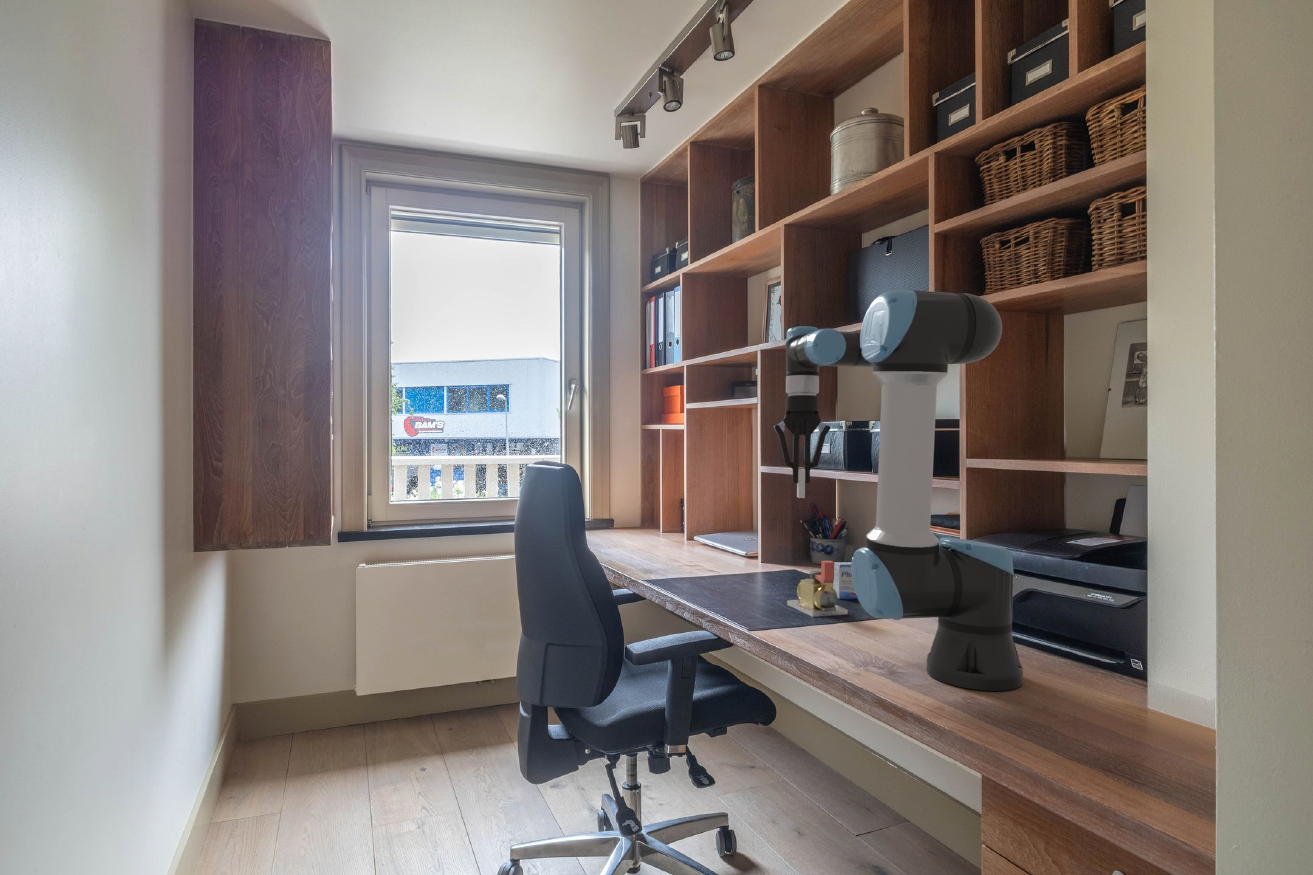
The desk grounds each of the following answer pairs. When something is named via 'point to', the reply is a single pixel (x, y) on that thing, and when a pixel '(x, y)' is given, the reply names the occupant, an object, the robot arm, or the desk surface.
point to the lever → (824, 572)
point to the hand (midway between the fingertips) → (800, 497)
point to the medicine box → (843, 581)
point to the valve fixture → (816, 599)
